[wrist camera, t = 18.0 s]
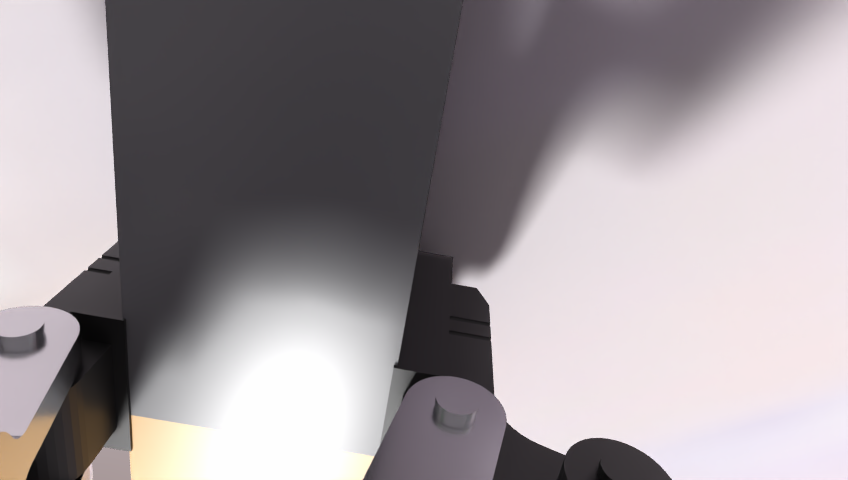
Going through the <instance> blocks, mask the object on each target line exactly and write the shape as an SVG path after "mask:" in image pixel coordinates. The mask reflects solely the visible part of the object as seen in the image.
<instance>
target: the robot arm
mask: <svg viewBox="0 0 848 480" xmlns="http://www.w3.org/2000/svg"><path fill="white" fill-rule="evenodd" d="M452 262H453V258H452V257H449V256H443V255H437V254H432V253H426V252H420V251H418V254H417V260H416V265H415V271H414V277H413V282H412V288H411V293H410V299H409V304H408V310H407V316H406V321H405V327H404V332H403V338H402V343H401V349H400V355H399V360H398V366H397V365H394V368H393V374H392V379H391V385H390V391H389V397H388V402H387V408H386V414H385V419H384V425H383V431H382V436H381V442H380V446H379V448H378V450H377V452H376V454H375V456H374V458H373V460H372V462H371V464H370V466H369V468H368V470H367V472H366V474H365V476H364V478H363V480H672V479H671V478H670V477H669V476H668V474H667V473H666V472H665V471H664V470H663V469H662V468H661V466H660V465H659V464H657V463H656V462H655V461H654V460H653V459H652V458H650V457H649V456H647V455H646V454H645V453H643V452H641V451H640V450H638V449H636V448H634V447H632V446H630V445H627V444H625V443H622V442H619V441H616V440H611V439H604V438H590V439H585V440H582V441H579V442H577V443H576V444H574V445H573V446H571V448H570V449H569V450H568V451H567V454H566V456H565V455H563V454H561V453H558V452H556V451H554V450H551V449H549V448H547V447H544V446H542V445H539V444H537V443H535V442H533V441H531V440H529V439H528V438H526V437H524V436H523V435H521V434H520V433H518V432H517V431H516V430H514V429H513V428H512V427H511V426H510V425H509V424H508V423H507V419H506V413H505V410H504V408H503V406H502V404H501V403H500V401H499V400H498V399H497V398H496V397H495V396H494V383H493V365H492V348H491V341H490V340H491V331H490V313H489V305H488V303H487V302H486V300H485V299H484V298H483V296H482V295H481V293H480V292H479V291H478V289H477V288H473V287H467V286H461V285H456V284H451V282H452ZM103 447H107V448H113V449H119V450H124V451H130V452H131V451H132V449H133V448H132V428H131V409H130V389H129V370H128V350H127V331H126V319H124V318H122V301H121V282H120V264H119V245H118V242H117V243H116V244H115V245H113V246H112V247H111V248H110V249H109V250H108V251H106V252H105V253H104V254H103V255H102V258H98V259H97V260H96V261H95V262H94V263H93V264H91V265H90V266H89V267H88V271H83V272H82V273H81V274H80V275H79V276H78V277H76V278H75V279H74V280H73V281H72V282H71V283H70V284H68V285H67V286H66V287H65V288H64V289H63V290H61V291H60V292H59V293H58V294H57V295H56V296H55V297H53V298H52V299H51V300H50V301H49V302H48V303H47V304H45V305H44V306H24V307H16V308H9V309H5V310H1V311H0V480H93V471H92V462H93V460H94V459H95V457H96V456H97V454H98V453H99V452H100V450H101V449H102V448H103Z"/></svg>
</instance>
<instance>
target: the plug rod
mask: <svg viewBox="0 0 848 480" xmlns="http://www.w3.org/2000/svg"><path fill="white" fill-rule="evenodd" d="M462 3H463V0H105V4H106V23H107V42H108V60H109V79H110V97H111V116H112V134H113V153H114V171H115V190H116V208H117V227H118V245H119V264H120V282H121V301H122V318H124V319H126V331H127V350H128V370H129V389H130V409H131V428H132V448H133V449H132V451H131V452H130V466H131V467H130V468H131V480H363V478H364V476H365V474H366V472H367V470H368V468H369V466H370V464H371V462H372V460H373V458H374V456H375V454H376V452H377V450H378V448H379V446H380V442H381V436H382V431H383V425H384V419H385V414H386V408H387V402H388V397H389V391H390V385H391V379H392V374H393V368H394V365H397V366H398V360H399V355H400V349H401V343H402V338H403V332H404V327H405V321H406V316H407V310H408V304H409V299H410V293H411V288H412V282H413V277H414V271H415V265H416V260H417V254H418V249H419V243H420V238H421V232H422V226H423V221H424V215H425V210H426V204H427V199H428V193H429V187H430V182H431V176H432V171H433V165H434V160H435V154H436V148H437V143H438V137H439V132H440V126H441V121H442V115H443V109H444V104H445V98H446V93H447V87H448V82H449V76H450V70H451V65H452V59H453V54H454V48H455V42H456V37H457V31H458V26H459V20H460V15H461V9H462Z"/></svg>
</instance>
